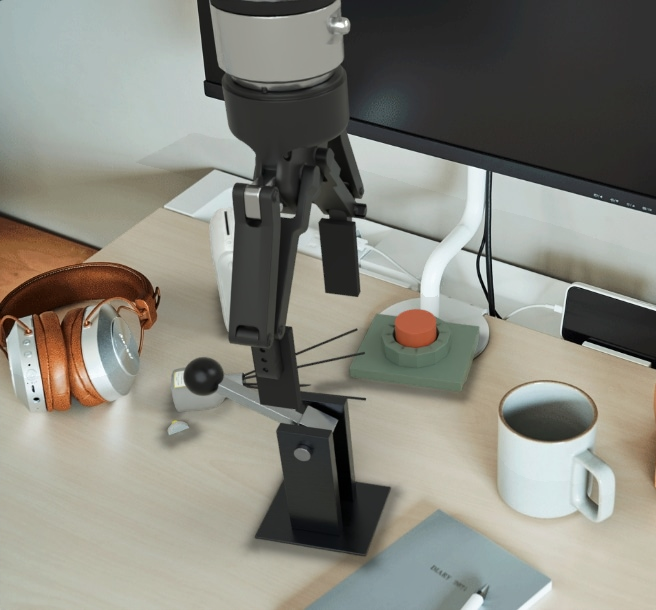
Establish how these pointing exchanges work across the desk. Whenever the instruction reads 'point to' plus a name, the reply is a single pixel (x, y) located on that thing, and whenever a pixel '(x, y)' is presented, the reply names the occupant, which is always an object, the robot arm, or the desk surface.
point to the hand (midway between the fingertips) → (314, 344)
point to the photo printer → (223, 255)
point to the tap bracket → (322, 487)
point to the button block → (417, 356)
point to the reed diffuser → (194, 402)
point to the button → (415, 328)
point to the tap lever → (247, 395)
